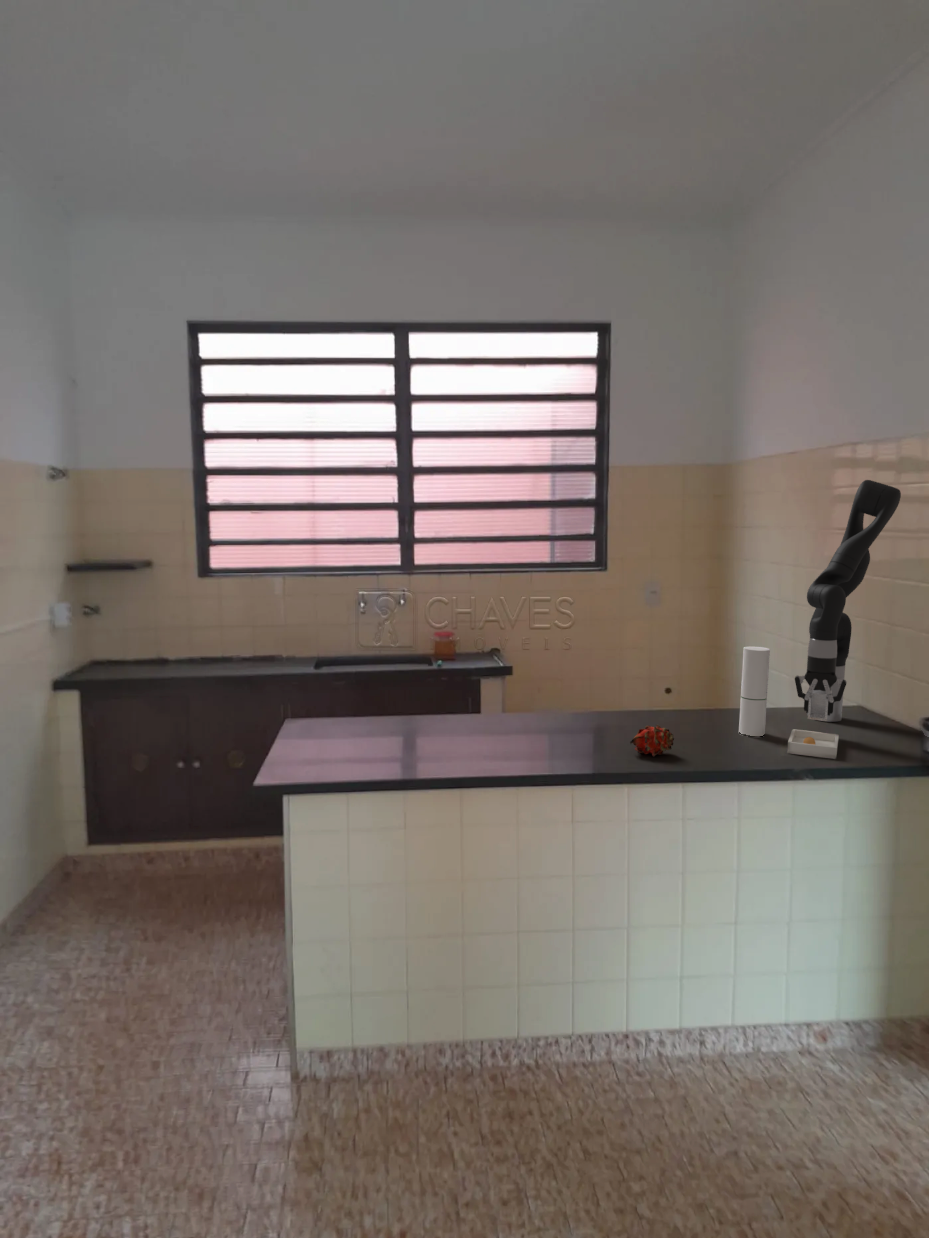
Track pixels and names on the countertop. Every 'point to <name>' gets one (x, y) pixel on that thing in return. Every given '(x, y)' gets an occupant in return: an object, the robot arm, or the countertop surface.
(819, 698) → the scoop
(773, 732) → the countertop surface
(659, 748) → the dragon fruit
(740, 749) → the countertop surface
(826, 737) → the tray
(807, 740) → the ball
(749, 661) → the cylindrical container
